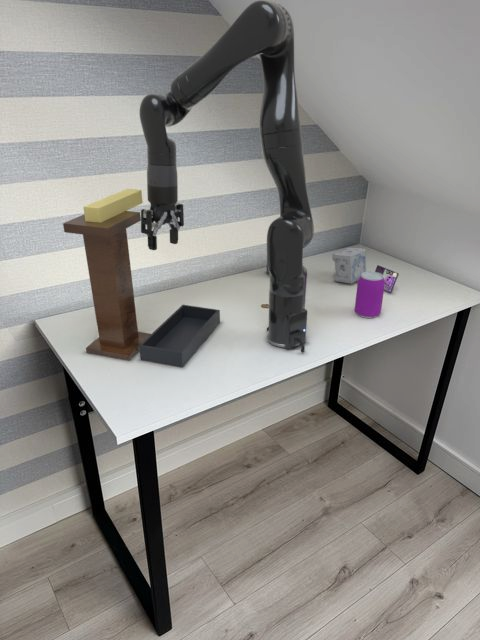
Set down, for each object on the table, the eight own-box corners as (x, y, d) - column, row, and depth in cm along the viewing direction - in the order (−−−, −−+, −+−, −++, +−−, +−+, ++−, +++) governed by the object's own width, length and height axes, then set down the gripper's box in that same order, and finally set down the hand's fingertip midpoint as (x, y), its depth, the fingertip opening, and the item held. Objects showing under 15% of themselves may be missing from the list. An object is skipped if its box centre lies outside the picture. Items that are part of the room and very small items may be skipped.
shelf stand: (114, 330, 139) (96, 207, 122) (154, 337, 136) (142, 212, 120) (84, 354, 127) (60, 223, 111) (127, 362, 124) (109, 228, 108)
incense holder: (345, 273, 180) (348, 244, 174) (366, 279, 175) (369, 249, 170) (329, 280, 173) (332, 250, 168) (350, 287, 168) (354, 256, 163)
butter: (129, 201, 128) (127, 188, 127) (142, 203, 127) (141, 189, 126) (85, 221, 112) (83, 206, 111) (100, 223, 111) (98, 208, 110)
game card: (375, 264, 168) (396, 273, 162) (385, 266, 171) (406, 275, 165) (368, 284, 170) (389, 293, 164) (378, 285, 173) (398, 294, 167)
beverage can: (377, 321, 146) (382, 282, 141) (351, 316, 149) (355, 277, 143) (383, 311, 153) (388, 273, 147) (357, 306, 155) (362, 268, 149)
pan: (183, 317, 146) (182, 304, 144) (220, 323, 144) (219, 309, 142) (140, 360, 125) (138, 345, 123) (182, 367, 123) (181, 352, 121)
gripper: (155, 188, 121) (156, 254, 129) (191, 182, 133) (191, 244, 140) (131, 183, 125) (134, 249, 132) (168, 178, 136) (169, 239, 143)
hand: (163, 246), depth 136 cm, fingers open, 8 cm apart
